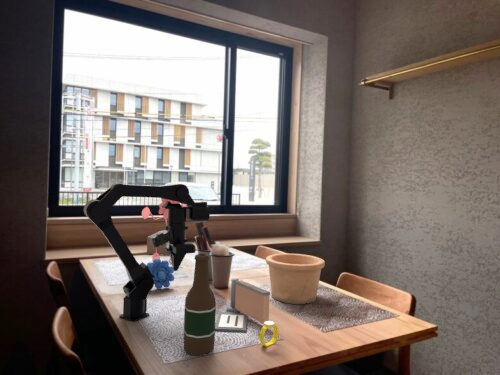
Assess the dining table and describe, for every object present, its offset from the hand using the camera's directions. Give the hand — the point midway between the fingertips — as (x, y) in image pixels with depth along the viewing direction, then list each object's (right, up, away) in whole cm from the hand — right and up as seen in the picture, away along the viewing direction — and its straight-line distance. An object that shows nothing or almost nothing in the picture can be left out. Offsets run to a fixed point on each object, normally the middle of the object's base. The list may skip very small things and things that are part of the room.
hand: (175, 270), depth 122 cm
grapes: (-10, -12, +23) cm, 28 cm away
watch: (+29, -15, -22) cm, 39 cm away
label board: (+19, -14, -5) cm, 24 cm away
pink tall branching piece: (-16, -12, +62) cm, 65 cm away
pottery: (+40, -15, +20) cm, 47 cm away
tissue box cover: (-25, -11, +100) cm, 104 cm away
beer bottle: (+11, -14, -27) cm, 32 cm away
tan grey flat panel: (+23, -13, -4) cm, 27 cm away
